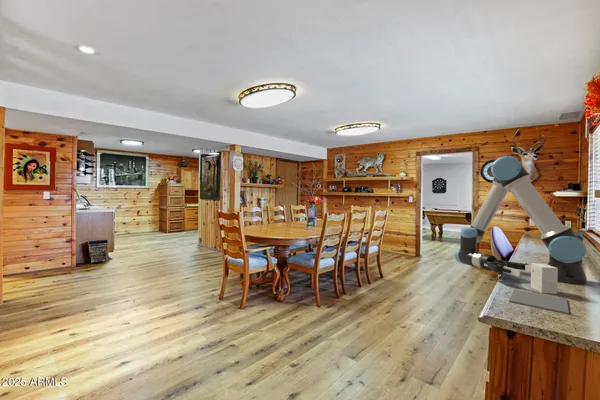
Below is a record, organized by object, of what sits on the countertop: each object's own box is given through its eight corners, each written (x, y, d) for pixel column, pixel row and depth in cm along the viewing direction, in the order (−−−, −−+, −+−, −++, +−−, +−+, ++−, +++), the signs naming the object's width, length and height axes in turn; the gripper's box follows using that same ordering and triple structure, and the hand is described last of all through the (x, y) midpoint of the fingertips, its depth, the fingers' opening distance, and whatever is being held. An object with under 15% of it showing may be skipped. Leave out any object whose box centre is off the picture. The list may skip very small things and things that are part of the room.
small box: (557, 294, 116) (558, 268, 116) (541, 293, 118) (542, 267, 117) (545, 288, 124) (545, 263, 124) (530, 287, 125) (530, 262, 125)
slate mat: (514, 290, 120) (514, 289, 120) (566, 300, 110) (566, 298, 110) (509, 301, 107) (509, 300, 107) (568, 314, 96) (568, 312, 96)
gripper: (502, 267, 149) (549, 279, 129) (465, 270, 141) (509, 283, 121) (503, 252, 149) (550, 262, 129) (465, 255, 141) (510, 265, 121)
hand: (530, 272), depth 125 cm, fingers open, 13 cm apart
